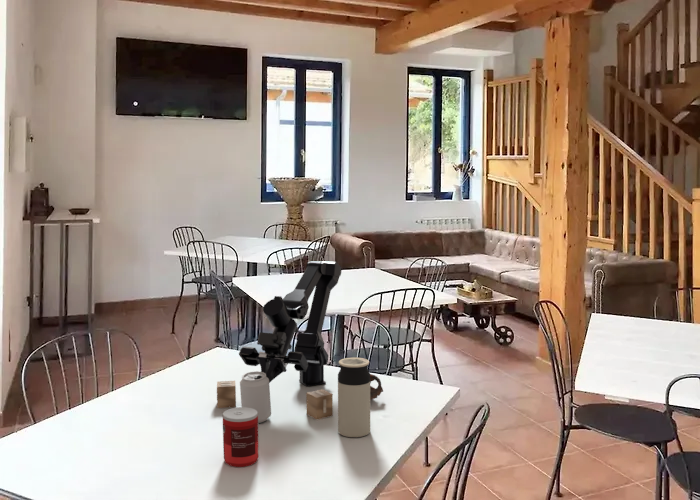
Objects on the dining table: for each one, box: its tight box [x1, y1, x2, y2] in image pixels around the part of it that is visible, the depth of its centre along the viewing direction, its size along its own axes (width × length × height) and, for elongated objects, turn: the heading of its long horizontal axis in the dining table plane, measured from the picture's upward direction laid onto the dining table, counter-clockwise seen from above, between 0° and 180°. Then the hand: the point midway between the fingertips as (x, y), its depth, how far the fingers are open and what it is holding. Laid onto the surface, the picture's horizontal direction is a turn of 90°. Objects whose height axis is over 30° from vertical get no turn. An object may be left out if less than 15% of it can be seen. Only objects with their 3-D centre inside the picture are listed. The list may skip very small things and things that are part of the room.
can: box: [239, 370, 272, 424], centre depth 177 cm, size 8×8×12 cm
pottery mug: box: [370, 373, 384, 401], centre depth 194 cm, size 12×10×8 cm
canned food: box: [222, 406, 259, 468], centre depth 153 cm, size 8×8×11 cm
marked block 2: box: [305, 388, 334, 421], centre depth 181 cm, size 5×5×6 cm
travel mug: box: [337, 357, 371, 438], centre depth 169 cm, size 8×8×18 cm
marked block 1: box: [216, 380, 237, 409], centre depth 190 cm, size 5×5×6 cm
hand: (262, 386), depth 181 cm, fingers closed
